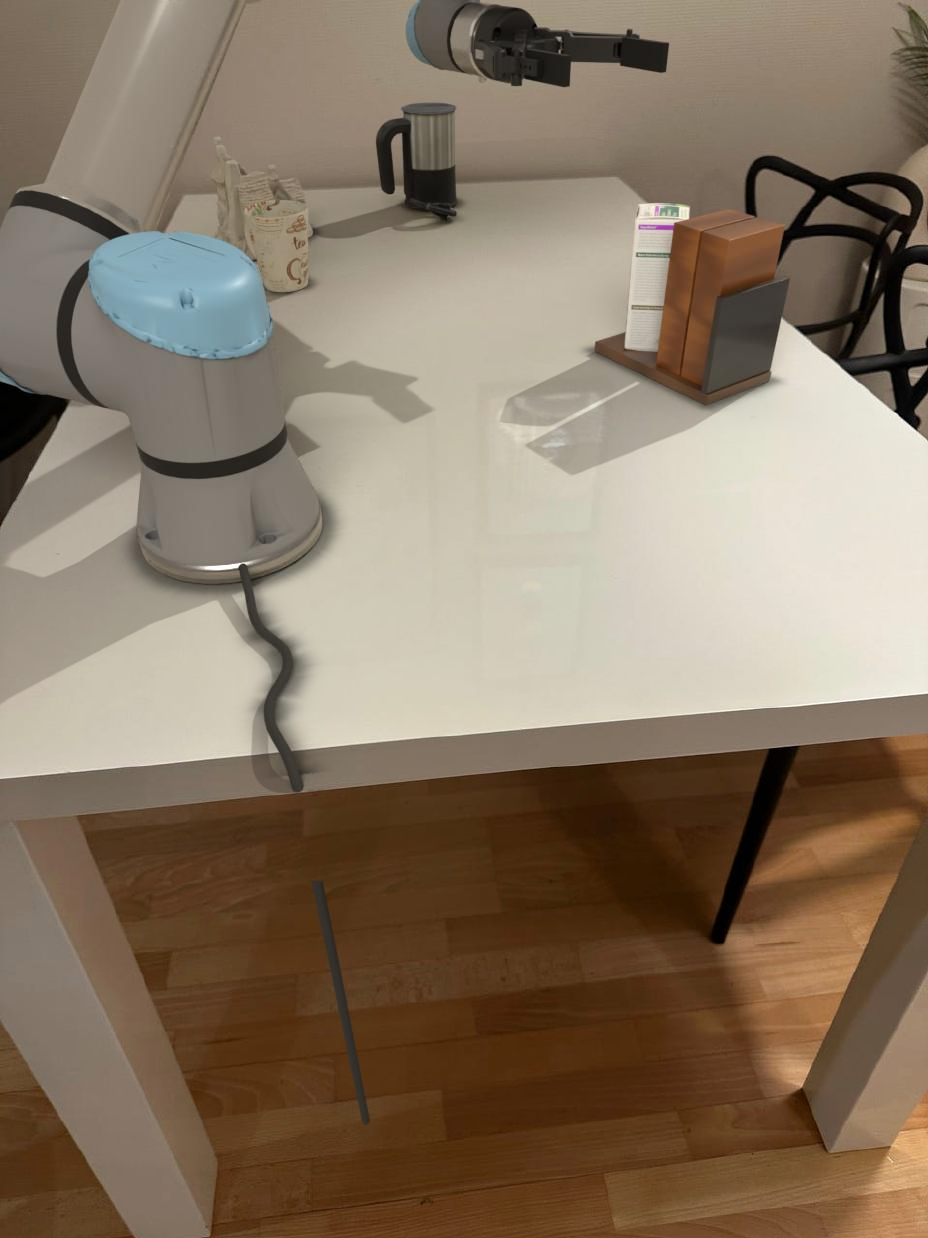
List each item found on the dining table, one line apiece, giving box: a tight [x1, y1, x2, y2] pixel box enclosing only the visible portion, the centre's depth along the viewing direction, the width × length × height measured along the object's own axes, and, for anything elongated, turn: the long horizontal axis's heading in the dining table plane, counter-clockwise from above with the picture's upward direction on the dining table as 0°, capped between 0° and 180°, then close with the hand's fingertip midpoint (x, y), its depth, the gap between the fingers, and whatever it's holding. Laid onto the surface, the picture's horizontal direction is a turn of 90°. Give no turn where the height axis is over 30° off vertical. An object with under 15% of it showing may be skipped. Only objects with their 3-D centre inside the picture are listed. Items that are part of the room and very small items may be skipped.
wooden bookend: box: [594, 208, 791, 406], centre depth 97 cm, size 18×10×16 cm, turn 35°
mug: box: [244, 200, 309, 293], centre depth 122 cm, size 8×13×10 cm, turn 47°
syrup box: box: [624, 202, 691, 352], centre depth 99 cm, size 6×6×14 cm
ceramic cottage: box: [210, 136, 314, 261], centre depth 136 cm, size 16×16×15 cm
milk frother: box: [375, 102, 459, 221], centre depth 147 cm, size 14×16×15 cm
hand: (618, 64), depth 93 cm, fingers open, 13 cm apart
